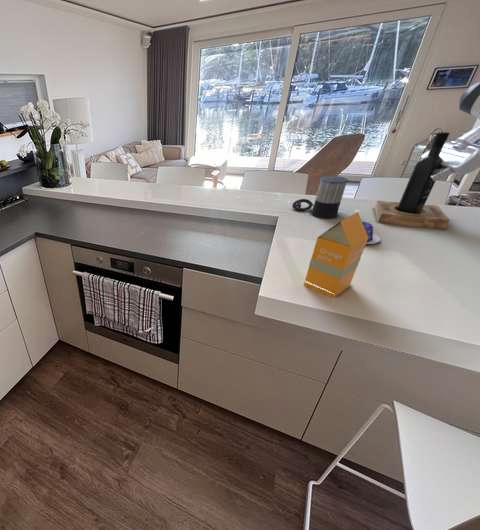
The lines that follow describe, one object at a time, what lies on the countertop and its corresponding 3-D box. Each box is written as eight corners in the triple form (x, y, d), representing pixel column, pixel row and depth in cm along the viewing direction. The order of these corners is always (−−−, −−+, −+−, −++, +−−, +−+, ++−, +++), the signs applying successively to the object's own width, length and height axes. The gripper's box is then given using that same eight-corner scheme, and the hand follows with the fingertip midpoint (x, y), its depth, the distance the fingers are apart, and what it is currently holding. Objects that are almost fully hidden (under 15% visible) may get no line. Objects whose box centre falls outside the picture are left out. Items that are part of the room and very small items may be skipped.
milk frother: (339, 219, 113) (351, 182, 106) (294, 217, 119) (302, 181, 112) (331, 207, 125) (342, 172, 117) (290, 205, 130) (298, 172, 123)
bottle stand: (433, 213, 111) (437, 204, 109) (445, 230, 99) (450, 220, 97) (374, 208, 120) (377, 200, 118) (378, 222, 108) (381, 214, 106)
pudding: (332, 229, 106) (336, 216, 103) (372, 232, 102) (377, 218, 99) (340, 244, 97) (345, 229, 94) (385, 247, 92) (391, 232, 90)
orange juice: (350, 285, 77) (377, 215, 67) (333, 298, 73) (360, 226, 63) (319, 274, 83) (340, 207, 73) (302, 285, 79) (322, 216, 69)
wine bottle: (419, 218, 108) (460, 132, 93) (409, 221, 107) (449, 134, 91) (401, 214, 113) (438, 131, 98) (392, 217, 111) (427, 133, 96)
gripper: (445, 134, 102) (401, 163, 110) (493, 142, 85) (437, 176, 93) (455, 146, 103) (410, 174, 111) (504, 157, 86) (447, 190, 94)
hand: (423, 175), depth 102 cm, fingers open, 8 cm apart
